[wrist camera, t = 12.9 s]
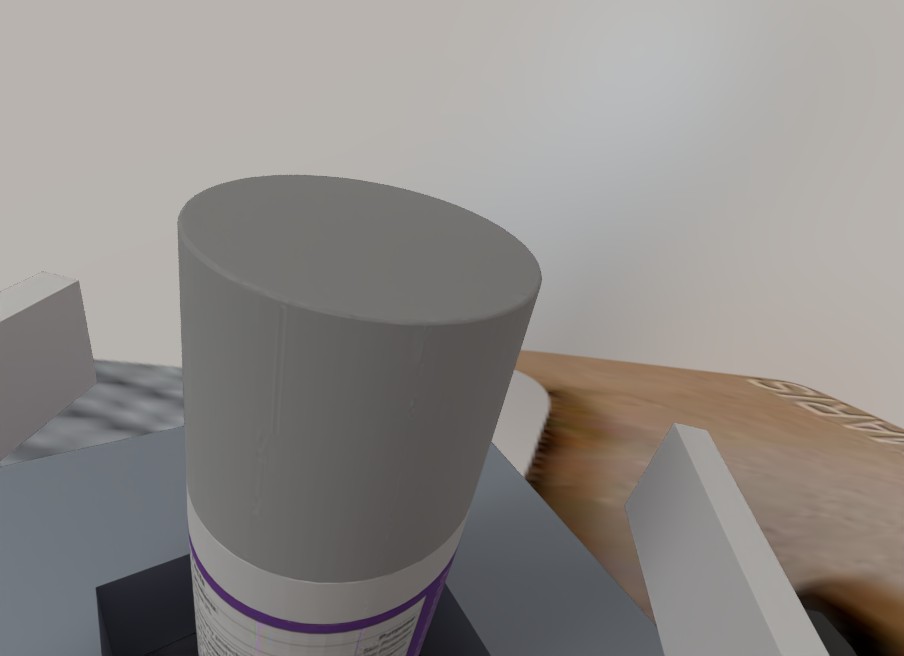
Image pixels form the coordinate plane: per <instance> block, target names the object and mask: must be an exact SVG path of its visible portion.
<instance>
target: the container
mask: <svg viewBox="0 0 904 656" xmlns="http://www.w3.org/2000/svg"><path fill="white" fill-rule="evenodd" d="M178 251H179V278H180V279H179V280H180V309H181V338H182V367H183V395H184V424H185V452H186V483H187V523H188V535H189V547H190V559H191V571H192V583H193V595H194V607H195V619H196V631H197V643H198V655H199V656H418V655H419V653H420V650H421V647H422V644H423V642H424V639H425V636H426V633H427V631H428V628H429V625H430V623H431V620H432V617H433V614H434V612H435V609H436V606H437V603H438V601H439V598H440V595H441V592H442V590H443V587H444V584H445V581H446V579H447V576H448V573H449V570H450V568H451V565H452V562H453V559H454V557H455V554H456V551H457V548H458V545H459V543H460V540H461V537H462V533H463V529H464V526H465V523H466V519H467V516H468V513H469V510H470V507H471V503H472V500H473V497H474V494H475V491H476V488H477V484H478V481H479V478H480V475H481V472H482V469H483V466H484V462H485V459H486V456H487V453H488V450H489V447H490V444H491V440H492V437H493V434H494V431H495V428H496V425H497V421H498V418H499V415H500V412H501V409H502V406H503V403H504V400H505V396H506V393H507V390H508V387H509V384H510V380H511V377H512V374H513V371H514V368H515V365H516V362H517V359H518V355H519V352H520V349H521V346H522V343H523V340H524V336H525V333H526V330H527V327H528V324H529V321H530V318H531V315H532V311H533V308H534V305H535V302H536V299H537V296H538V293H539V289H540V286H541V281H542V277H541V271H540V268H539V264H538V262H537V261H536V259H535V257H534V256H533V254H532V253H531V252H530V251H529V250H528V248H527V247H526V246H525V245H524V244H523V243H522V242H520V241H519V240H518V239H517V238H516V237H515V236H513V235H512V234H510V233H509V232H507V231H506V230H505V229H503V228H502V227H500V226H498V225H496V224H495V223H493V222H491V221H489V220H488V219H486V218H483V217H481V216H479V215H477V214H475V213H473V212H471V211H469V210H466V209H464V208H461V207H459V206H457V205H454V204H451V203H449V202H446V201H443V200H440V199H437V198H434V197H430V196H428V195H424V194H421V193H417V192H414V191H410V190H406V189H402V188H398V187H393V186H389V185H384V184H378V183H373V182H367V181H361V180H355V179H347V178H338V177H327V176H311V175H273V176H261V177H251V178H245V179H240V180H235V181H231V182H227V183H223V184H220V185H216V186H214V187H211V188H209V189H206V190H204V191H202V192H201V193H199V194H197V195H195V196H194V197H193V198H192V199H190V200H189V201H188V202H187V203H186V204H185V206H184V207H183V208H182V210H181V212H180V214H179V217H178Z"/></svg>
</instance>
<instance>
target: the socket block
mask: <svg viewBox="0 0 904 656" xmlns="http://www.w3.org/2000/svg"><path fill="white" fill-rule="evenodd" d="M195 632H197V631H196V619H195V607H194V595H193V583H192V571H191V559H190V547H189V535H188V523H187V483H186V452H185V426H182V427H177V428H173V429H168V430H164V431H159V432H155V433H150V434H146V435H141V436H137V437H132V438H128V439H123V440H119V441H114V442H110V443H105V444H101V445H96V446H91V447H87V448H82V449H78V450H73V451H69V452H64V453H60V454H55V455H51V456H46V457H42V458H37V459H33V460H28V461H24V462H19V463H15V464H10V465H6V466H1V467H0V656H143V655H145V654H148V653H150V652H152V651H154V650H157V649H159V648H161V647H163V646H166V645H168V644H170V643H172V642H175V641H177V640H179V639H181V638H184V637H186V636H188V635H190V634H193V633H195ZM420 655H421V656H665V655H664V651H663V648H662V644H661V640H660V636H659V633H658V629H657V626H656V625H655V624H654V623H653V622H652V621H651V620H650V619H649V618H648V616H647V615H646V614H645V613H644V612H643V611H642V610H641V609H640V607H639V606H638V605H637V604H636V603H635V602H634V601H633V600H632V598H631V597H630V596H629V595H628V594H627V593H626V592H625V591H624V590H623V588H622V587H621V586H620V585H619V584H618V583H617V582H616V581H615V579H614V578H613V577H612V576H611V575H610V574H609V573H608V572H607V570H606V569H605V568H604V567H603V566H602V565H601V564H600V563H599V562H598V560H597V559H596V558H595V557H594V556H593V555H592V554H591V553H590V551H589V550H588V549H587V548H586V547H585V546H584V545H583V544H582V542H581V541H580V540H579V539H578V538H577V537H576V536H575V535H574V534H573V532H572V531H571V530H570V529H569V528H568V527H567V526H566V525H565V523H564V522H563V521H562V520H561V519H560V518H559V517H558V516H557V514H556V513H555V512H554V511H553V510H552V509H551V508H550V507H549V506H548V504H547V503H546V502H545V501H544V500H543V499H542V498H541V497H540V495H539V494H538V493H537V492H536V491H535V490H534V489H533V488H532V486H531V485H530V484H529V483H528V482H527V481H526V480H525V479H524V478H523V476H522V475H521V474H520V473H519V472H518V471H517V470H516V469H515V467H514V466H513V465H512V464H511V463H510V462H509V461H508V460H507V458H506V457H505V456H504V455H503V454H502V453H501V452H500V451H499V450H498V449H497V447H496V446H495V445H494V444H493V443H492V442H491V444H490V447H489V450H488V453H487V456H486V459H485V462H484V466H483V469H482V472H481V475H480V478H479V481H478V484H477V488H476V491H475V494H474V497H473V500H472V503H471V507H470V510H469V513H468V516H467V519H466V523H465V526H464V529H463V533H462V537H461V540H460V543H459V545H458V548H457V551H456V554H455V557H454V559H453V562H452V565H451V568H450V570H449V573H448V576H447V579H446V581H445V584H444V587H443V590H442V592H441V595H440V598H439V601H438V603H437V606H436V609H435V612H434V614H433V617H432V620H431V623H430V625H429V628H428V631H427V633H426V636H425V639H424V642H423V644H422V647H421V650H420Z"/></svg>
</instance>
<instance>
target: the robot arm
mask: <svg viewBox="0 0 904 656" xmlns="http://www.w3.org/2000/svg"><path fill="white" fill-rule="evenodd" d="M96 383H97V378H96V372H95V367H94V361H93V356H92V350H91V345H90V340H89V334H88V328H87V323H86V318H85V312H84V307H83V301H82V296H81V290H80V285H79V281H78V280H76V279H72V278H67V277H63V276H59V275H55V274H51V273H47V272H41V273H38V274H36V275H34V276H32V277H30V278H28V279H26V280H24V281H22V282H19V283H17V284H15V285H13V286H11V287H9V288H7V289H5V290H2V291H0V461H1V460H2V459H3V458H5V457H6V456H7V455H8V454H10V453H11V452H12V451H13V450H14V449H16V448H17V447H18V446H19V445H21V444H22V443H23V442H24V441H26V440H27V439H28V438H29V437H31V436H32V435H33V434H34V433H36V432H37V431H38V430H39V429H41V428H42V427H43V426H44V425H45V424H47V423H48V422H49V421H50V420H52V419H53V418H54V417H55V416H57V415H58V414H59V413H60V412H62V411H63V410H64V409H65V408H67V407H68V406H69V405H70V404H72V403H73V402H74V401H75V400H76V399H78V398H79V397H80V396H81V395H83V394H84V393H85V392H86V391H88V390H89V389H90V388H91V387H93V386H94V385H95V384H96ZM625 509H626V513H627V517H628V520H629V524H630V528H631V532H632V535H633V539H634V543H635V547H636V550H637V554H638V558H639V562H640V565H641V569H642V573H643V577H644V580H645V584H646V588H647V591H648V595H649V599H650V603H651V606H652V610H653V614H654V618H655V621H656V625H657V629H658V633H659V636H660V640H661V644H662V648H663V651H664V655H665V656H857V655H856V654H855V652H854V650H853V648H852V647H851V646H850V645H849V644H848V643H847V641H846V640H845V639H844V638H843V637H842V636H841V635H840V633H839V632H838V631H837V630H836V629H835V628H834V627H833V625H832V624H831V623H830V622H829V621H828V620H827V619H826V617H825V616H824V615H823V614H822V613H821V612H817V611H812V610H808V609H804V608H803V606H802V604H801V602H800V600H799V598H798V597H797V595H796V593H795V591H794V589H793V587H792V586H791V584H790V582H789V580H788V578H787V576H786V574H785V573H784V571H783V569H782V567H781V565H780V563H779V562H778V560H777V558H776V556H775V554H774V552H773V550H772V549H771V547H770V545H769V543H768V541H767V539H766V538H765V536H764V534H763V532H762V530H761V528H760V527H759V525H758V523H757V521H756V519H755V517H754V515H753V514H752V512H751V510H750V508H749V506H748V504H747V503H746V501H745V499H744V497H743V495H742V493H741V491H740V490H739V488H738V486H737V484H736V482H735V480H734V479H733V477H732V475H731V473H730V471H729V469H728V467H727V466H726V464H725V462H724V460H723V458H722V456H721V455H720V453H719V451H718V449H717V447H716V445H715V443H714V442H713V440H712V438H711V436H710V434H709V432H708V431H707V430H704V429H699V428H695V427H691V426H687V425H683V424H678V423H673V425H672V427H671V428H670V430H669V432H668V433H667V435H666V437H665V438H664V440H663V442H662V443H661V445H660V447H659V448H658V450H657V452H656V454H655V455H654V457H653V459H652V460H651V462H650V464H649V465H648V467H647V469H646V470H645V472H644V474H643V475H642V477H641V479H640V480H639V482H638V484H637V485H636V487H635V489H634V490H633V492H632V494H631V496H630V497H629V499H628V501H627V502H626V504H625Z"/></svg>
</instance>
